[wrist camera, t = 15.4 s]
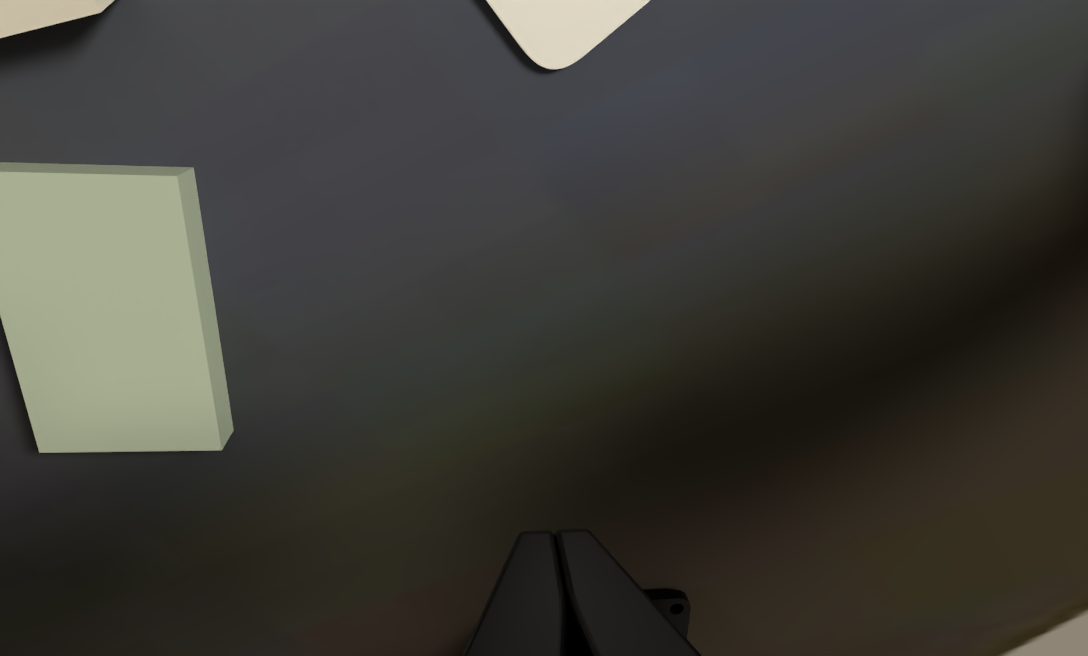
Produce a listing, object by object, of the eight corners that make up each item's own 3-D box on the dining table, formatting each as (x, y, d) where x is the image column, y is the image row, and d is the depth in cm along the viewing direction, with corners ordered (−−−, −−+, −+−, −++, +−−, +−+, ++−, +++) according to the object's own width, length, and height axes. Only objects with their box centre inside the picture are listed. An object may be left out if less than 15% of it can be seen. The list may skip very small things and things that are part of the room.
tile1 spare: (221, 450, 21) (177, 176, 17) (39, 453, 20) (-42, 170, 17) (238, 421, 22) (200, 163, 19) (68, 423, 21) (0, 159, 18)
